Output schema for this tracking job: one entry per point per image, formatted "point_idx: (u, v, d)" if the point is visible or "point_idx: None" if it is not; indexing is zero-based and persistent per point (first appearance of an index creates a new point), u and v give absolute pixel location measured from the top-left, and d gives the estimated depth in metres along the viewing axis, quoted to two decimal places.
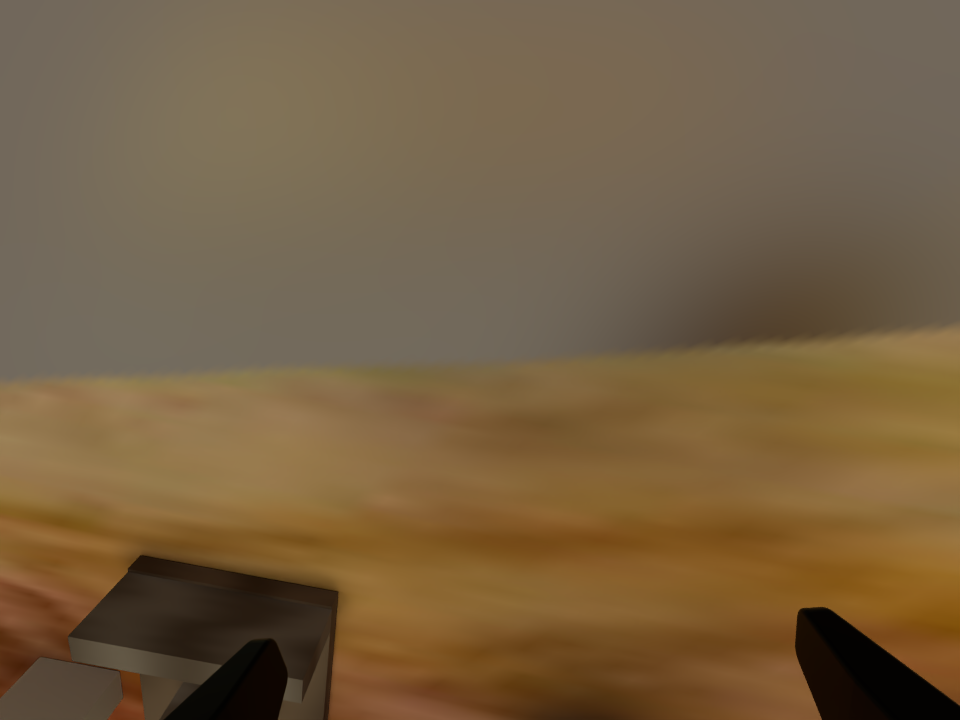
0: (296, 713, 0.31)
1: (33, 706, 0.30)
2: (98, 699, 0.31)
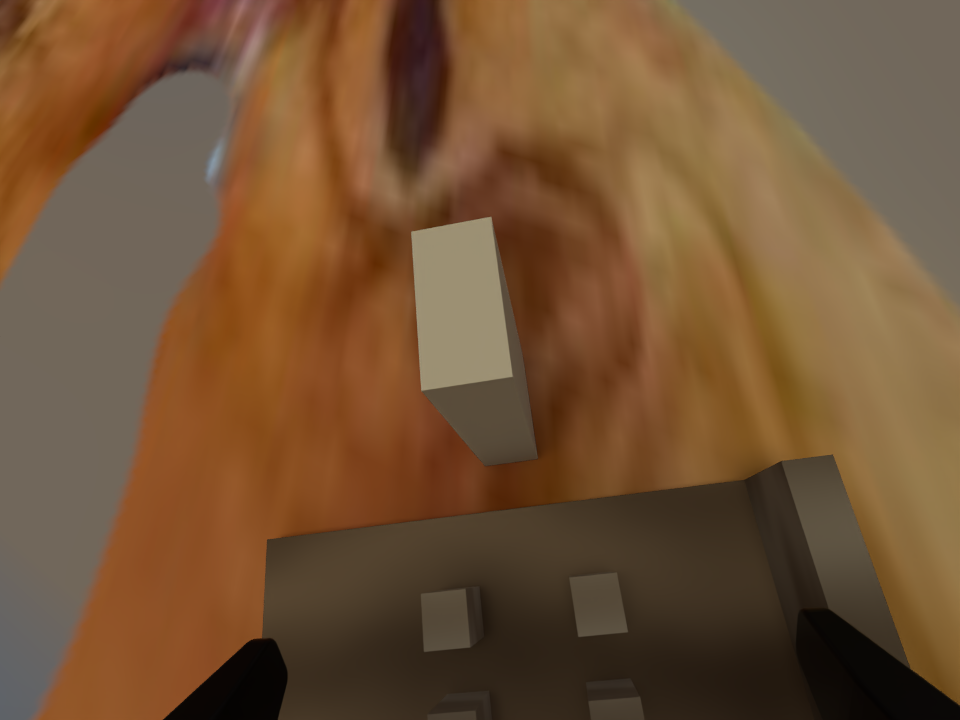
0: None
1: (523, 376, 0.22)
2: (534, 451, 0.22)
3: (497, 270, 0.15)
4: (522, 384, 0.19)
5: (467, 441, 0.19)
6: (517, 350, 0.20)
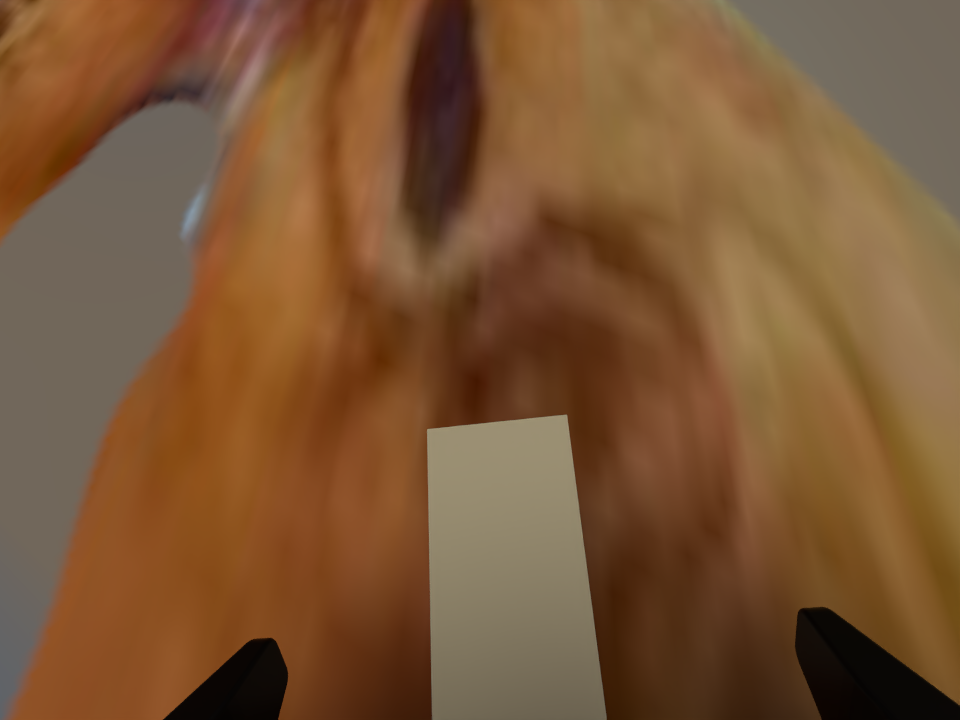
0: None
1: None
2: None
3: (580, 528, 0.08)
4: None
5: None
6: None
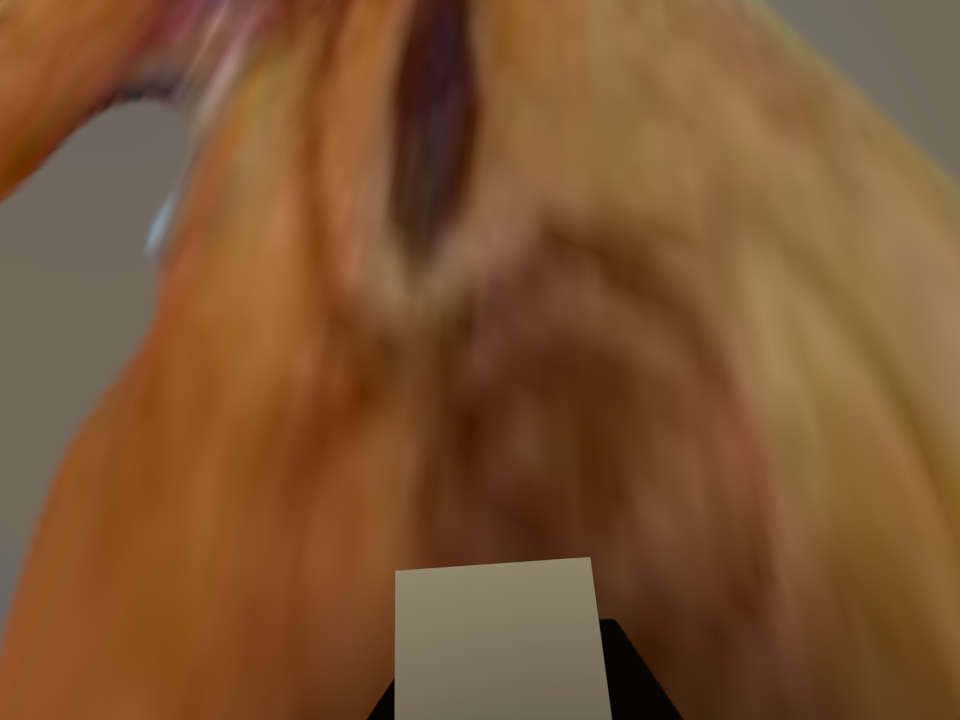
0: None
1: None
2: None
3: None
4: None
5: None
6: None
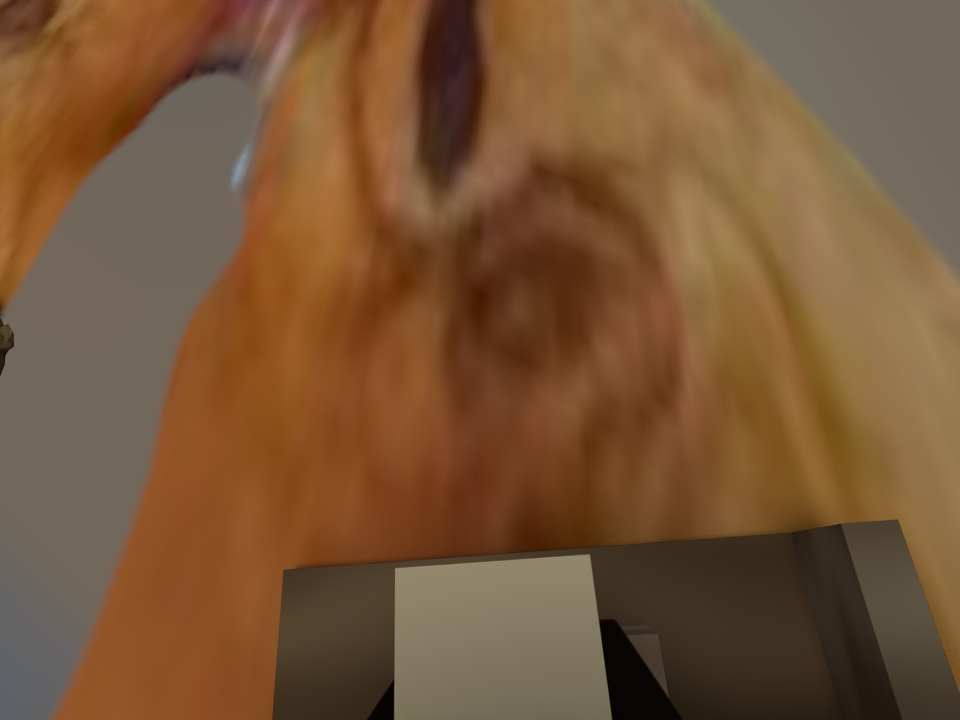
0: None
1: None
2: None
3: None
4: None
5: None
6: None
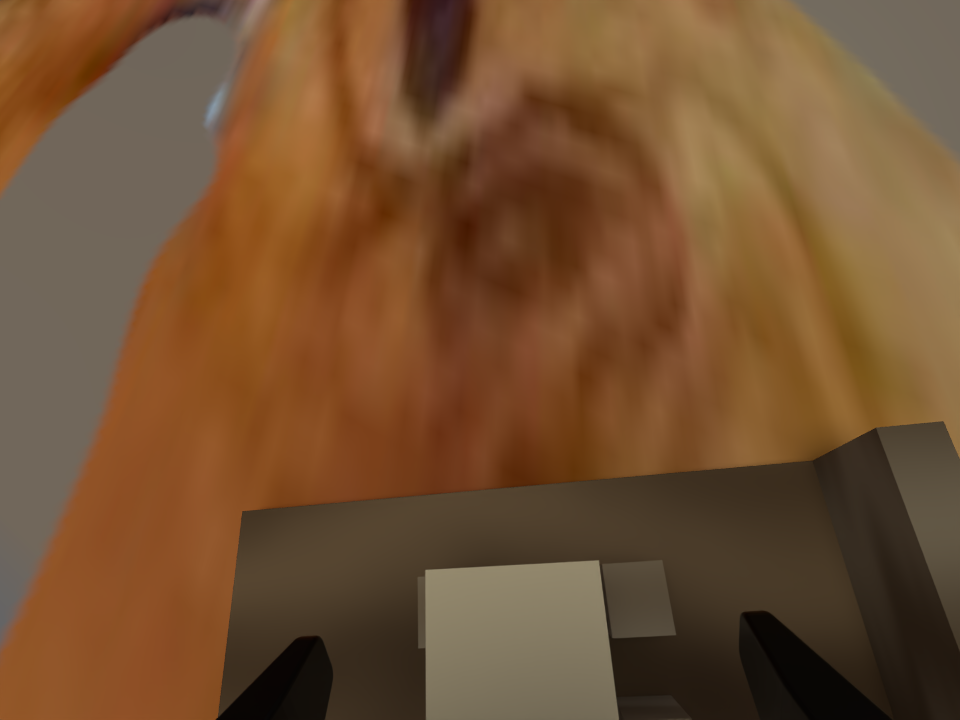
0: None
1: None
2: None
3: None
4: None
5: None
6: None
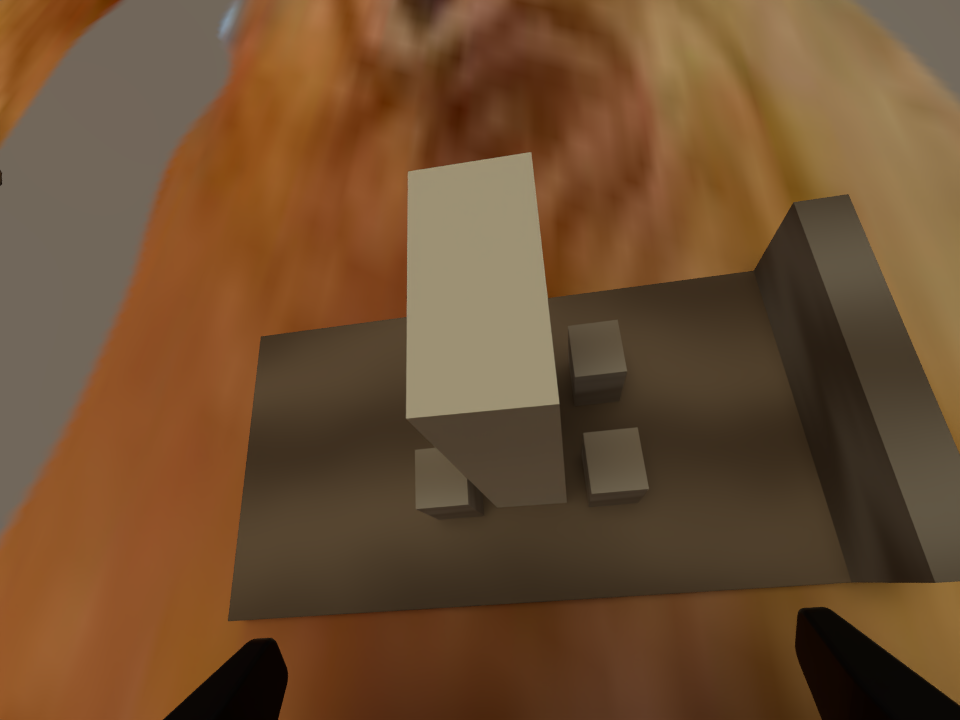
0: (600, 543, 0.17)
1: None
2: (565, 495, 0.16)
3: (538, 231, 0.09)
4: None
5: (476, 483, 0.14)
6: None
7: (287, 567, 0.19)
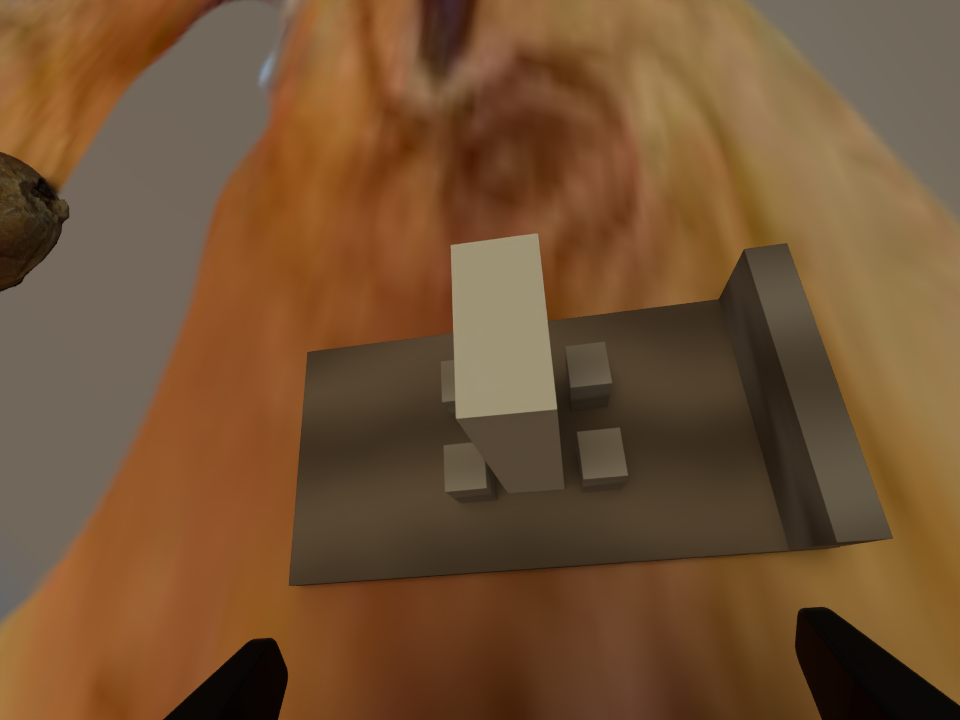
0: (591, 521, 0.21)
1: None
2: (563, 481, 0.21)
3: (543, 291, 0.14)
4: None
5: (494, 469, 0.18)
6: None
7: (336, 542, 0.23)
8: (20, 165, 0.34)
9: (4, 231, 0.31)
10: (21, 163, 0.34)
